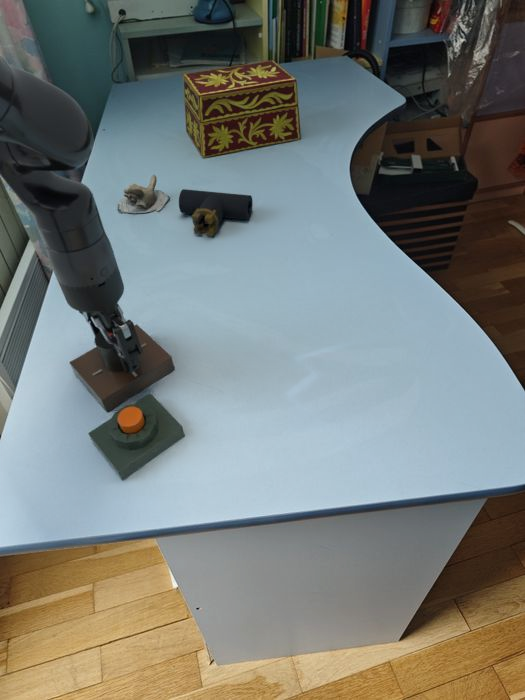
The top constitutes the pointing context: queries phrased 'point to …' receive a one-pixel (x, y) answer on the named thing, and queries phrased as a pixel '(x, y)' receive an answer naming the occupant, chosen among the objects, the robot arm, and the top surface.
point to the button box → (137, 437)
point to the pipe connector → (213, 208)
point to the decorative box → (241, 108)
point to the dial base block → (122, 373)
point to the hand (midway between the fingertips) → (118, 354)
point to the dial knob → (108, 353)
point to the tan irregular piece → (142, 198)
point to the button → (131, 420)
